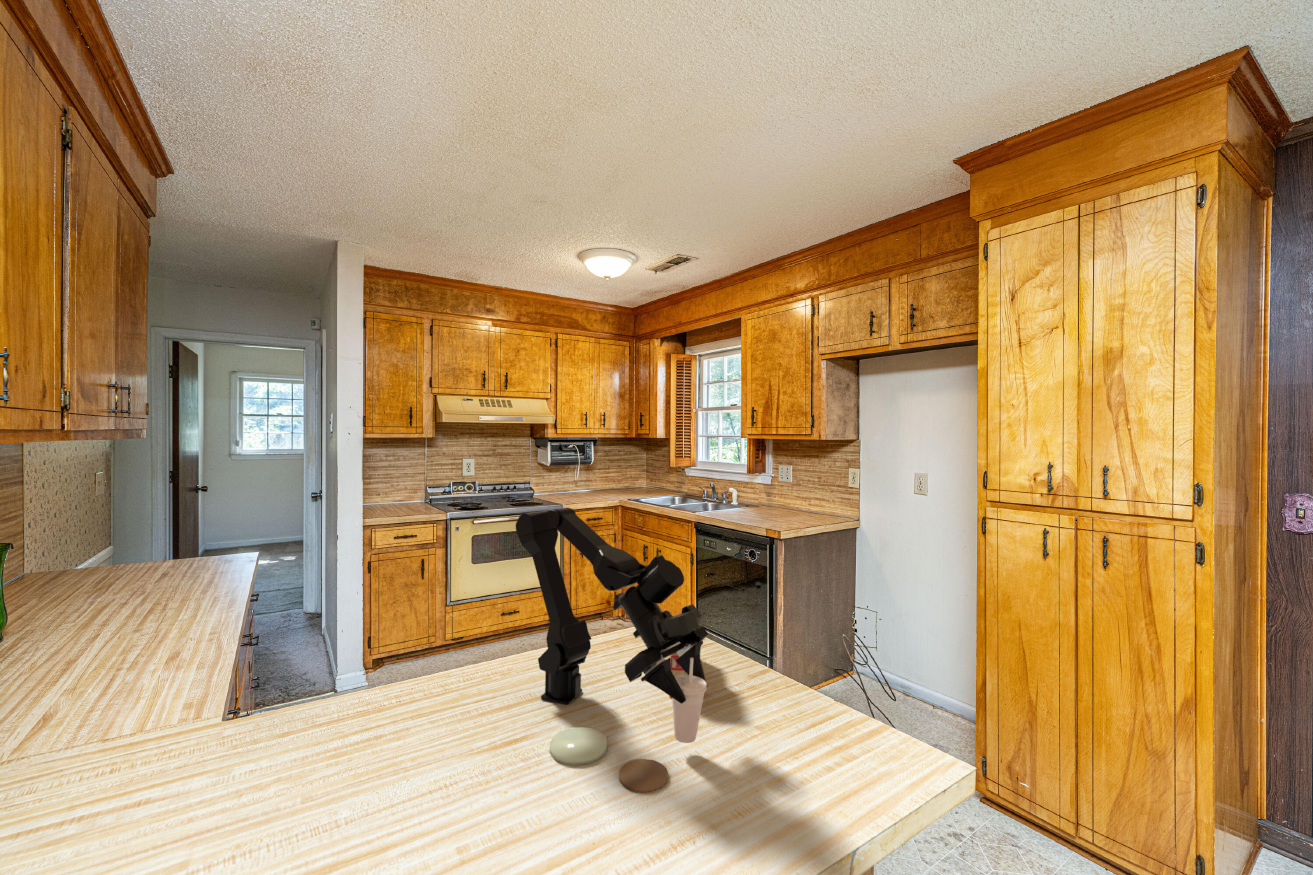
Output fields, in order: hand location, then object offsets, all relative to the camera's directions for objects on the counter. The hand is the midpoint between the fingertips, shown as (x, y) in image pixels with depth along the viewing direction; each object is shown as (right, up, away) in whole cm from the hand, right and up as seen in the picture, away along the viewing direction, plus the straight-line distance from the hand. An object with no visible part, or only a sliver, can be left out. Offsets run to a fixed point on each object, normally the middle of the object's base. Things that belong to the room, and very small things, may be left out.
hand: (694, 694), depth 100 cm
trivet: (-9, -10, -6) cm, 15 cm away
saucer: (-20, -10, +1) cm, 23 cm away
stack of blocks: (-1, -10, +31) cm, 33 cm away
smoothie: (-2, -8, +1) cm, 8 cm away
